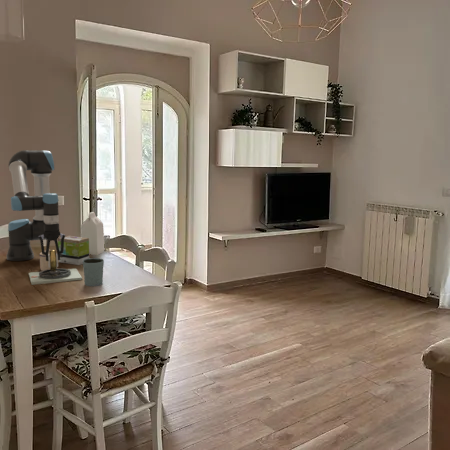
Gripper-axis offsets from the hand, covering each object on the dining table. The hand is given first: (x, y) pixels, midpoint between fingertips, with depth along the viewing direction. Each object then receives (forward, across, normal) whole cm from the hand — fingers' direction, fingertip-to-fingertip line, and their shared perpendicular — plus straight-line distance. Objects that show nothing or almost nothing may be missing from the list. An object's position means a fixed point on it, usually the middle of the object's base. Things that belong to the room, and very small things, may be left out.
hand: (53, 266), depth 249 cm
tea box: (+4, +14, +23) cm, 27 cm away
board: (+4, 0, -7) cm, 8 cm away
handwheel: (+3, 0, -7) cm, 7 cm away
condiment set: (+4, -1, +13) cm, 14 cm away
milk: (+4, +29, +46) cm, 55 cm away
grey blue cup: (+4, +16, -27) cm, 32 cm away
